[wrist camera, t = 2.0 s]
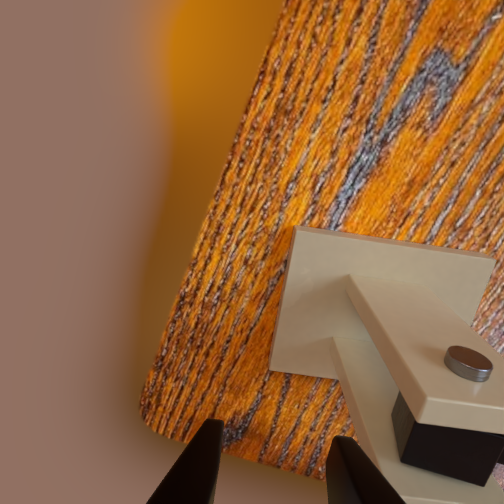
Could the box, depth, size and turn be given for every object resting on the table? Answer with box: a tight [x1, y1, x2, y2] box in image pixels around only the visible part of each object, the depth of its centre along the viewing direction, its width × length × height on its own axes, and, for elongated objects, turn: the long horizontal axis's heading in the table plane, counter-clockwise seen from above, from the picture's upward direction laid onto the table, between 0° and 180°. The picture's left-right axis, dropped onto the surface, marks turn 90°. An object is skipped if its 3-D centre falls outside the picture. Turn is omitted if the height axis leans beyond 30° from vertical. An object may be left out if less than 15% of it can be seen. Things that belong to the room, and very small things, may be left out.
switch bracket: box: [269, 225, 504, 504], centre depth 16 cm, size 11×9×11 cm
